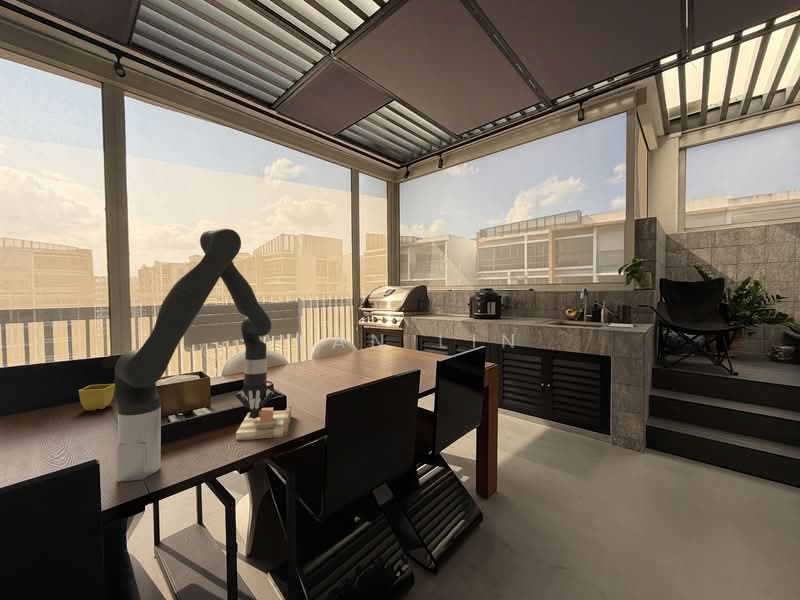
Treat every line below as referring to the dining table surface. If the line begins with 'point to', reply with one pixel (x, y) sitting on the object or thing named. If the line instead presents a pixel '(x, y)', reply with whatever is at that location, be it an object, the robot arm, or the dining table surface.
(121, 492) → the dining table surface
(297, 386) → the dining table surface
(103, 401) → the flower pot
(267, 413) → the block
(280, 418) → the board
